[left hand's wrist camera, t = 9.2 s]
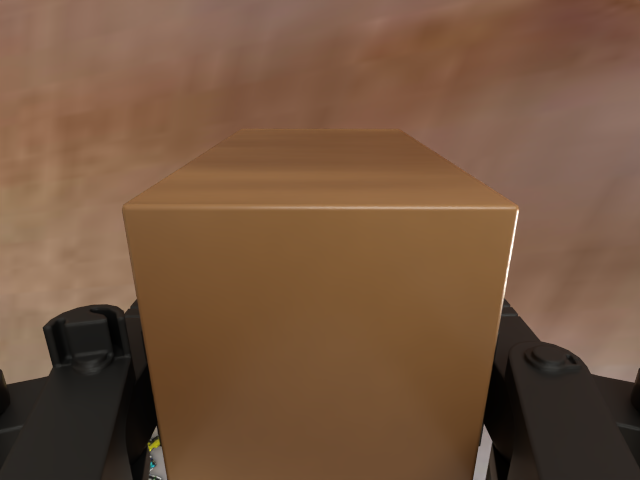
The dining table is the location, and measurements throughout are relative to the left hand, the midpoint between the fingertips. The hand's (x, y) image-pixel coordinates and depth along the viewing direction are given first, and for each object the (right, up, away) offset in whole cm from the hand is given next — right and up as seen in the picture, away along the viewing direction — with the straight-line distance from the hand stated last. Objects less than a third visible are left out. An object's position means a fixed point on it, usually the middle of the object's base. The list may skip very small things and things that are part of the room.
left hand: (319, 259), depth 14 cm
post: (0, -34, +13) cm, 36 cm away
